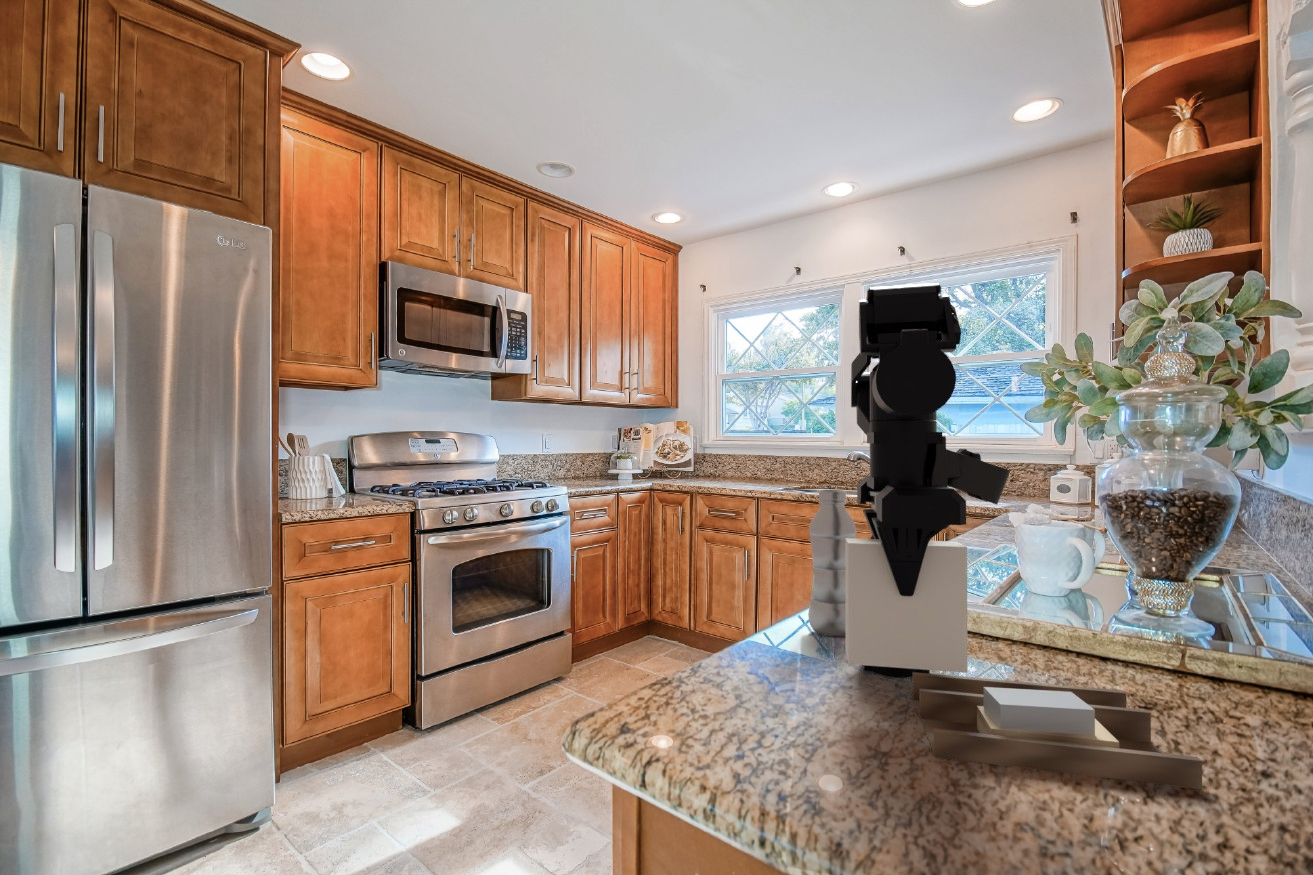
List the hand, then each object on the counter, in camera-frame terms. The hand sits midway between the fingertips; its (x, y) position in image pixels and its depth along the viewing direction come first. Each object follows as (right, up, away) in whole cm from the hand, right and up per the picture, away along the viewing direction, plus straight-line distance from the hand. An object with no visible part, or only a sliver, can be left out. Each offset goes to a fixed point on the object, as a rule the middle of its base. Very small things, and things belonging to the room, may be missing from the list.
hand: (903, 591), depth 57 cm
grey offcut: (+9, -10, -5) cm, 14 cm away
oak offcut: (+9, -12, -6) cm, 16 cm away
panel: (0, -7, 0) cm, 7 cm away
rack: (+10, -13, -3) cm, 17 cm away
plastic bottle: (+2, -14, +29) cm, 32 cm away
